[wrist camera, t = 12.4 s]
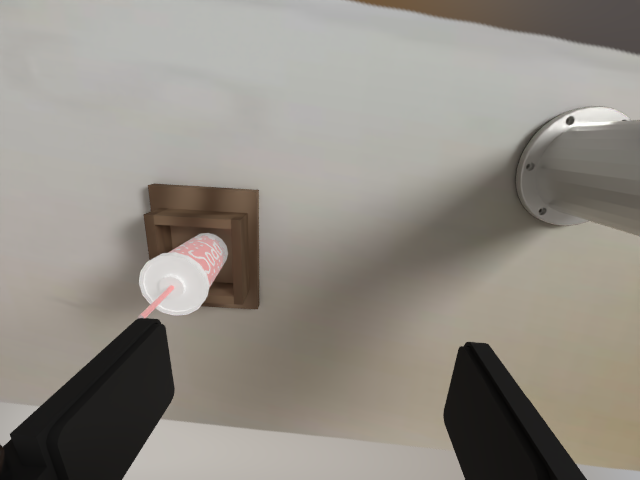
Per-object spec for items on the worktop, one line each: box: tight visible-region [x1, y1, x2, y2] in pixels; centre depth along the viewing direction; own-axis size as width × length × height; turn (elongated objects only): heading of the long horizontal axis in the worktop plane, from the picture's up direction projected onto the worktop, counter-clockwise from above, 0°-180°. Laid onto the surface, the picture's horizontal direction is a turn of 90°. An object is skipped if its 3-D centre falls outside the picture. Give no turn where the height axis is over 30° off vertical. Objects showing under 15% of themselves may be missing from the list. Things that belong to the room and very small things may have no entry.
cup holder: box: [144, 184, 259, 309], centre depth 35 cm, size 12×15×4 cm
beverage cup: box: [138, 233, 228, 318], centre depth 29 cm, size 6×6×14 cm
